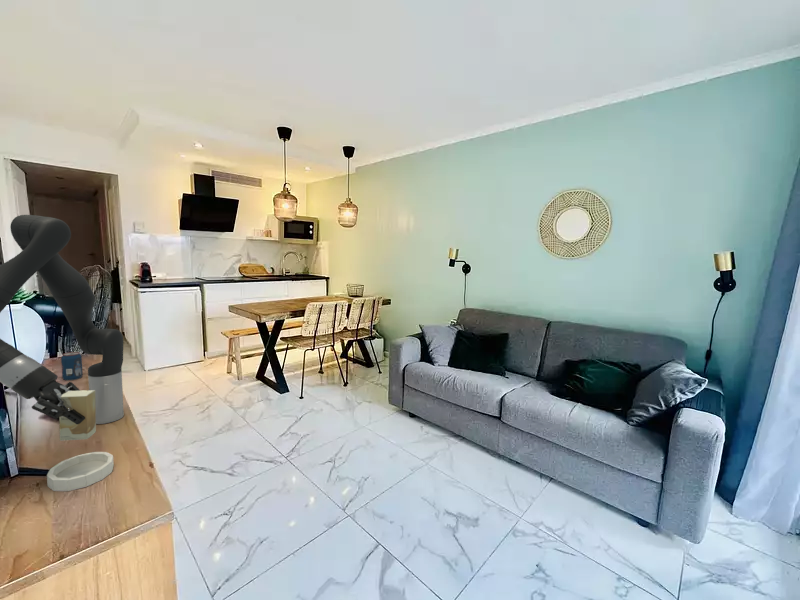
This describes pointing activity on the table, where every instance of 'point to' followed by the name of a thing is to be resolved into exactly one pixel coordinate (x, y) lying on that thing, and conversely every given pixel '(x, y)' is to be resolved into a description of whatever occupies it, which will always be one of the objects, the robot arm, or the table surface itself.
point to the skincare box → (85, 406)
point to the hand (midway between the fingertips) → (86, 416)
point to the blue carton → (71, 366)
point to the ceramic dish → (80, 471)
